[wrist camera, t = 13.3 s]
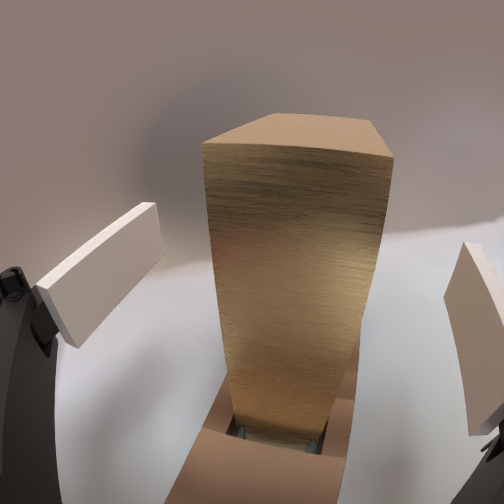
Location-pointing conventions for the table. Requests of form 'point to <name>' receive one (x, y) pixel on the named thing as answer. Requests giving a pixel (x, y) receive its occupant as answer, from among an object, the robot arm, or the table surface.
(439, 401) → the table surface
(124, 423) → the table surface
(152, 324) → the table surface
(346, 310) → the tall wooden block
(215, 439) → the slotted wooden base
